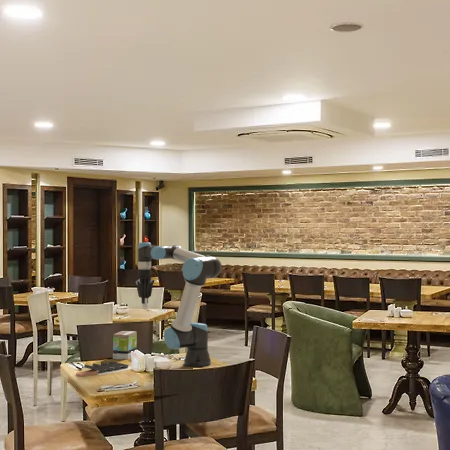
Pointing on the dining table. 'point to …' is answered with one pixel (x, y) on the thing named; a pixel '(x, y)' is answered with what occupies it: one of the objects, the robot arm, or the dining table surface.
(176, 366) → the dining table surface
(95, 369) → the domino
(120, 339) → the tea box
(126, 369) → the domino mat
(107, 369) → the domino
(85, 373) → the domino
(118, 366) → the domino
